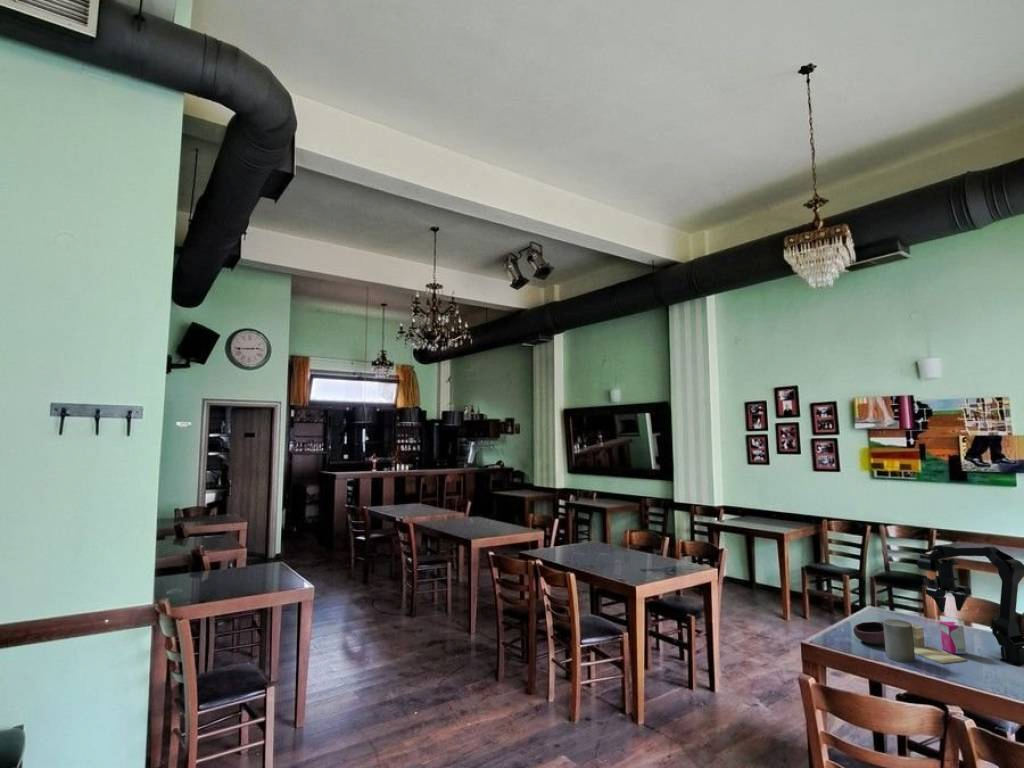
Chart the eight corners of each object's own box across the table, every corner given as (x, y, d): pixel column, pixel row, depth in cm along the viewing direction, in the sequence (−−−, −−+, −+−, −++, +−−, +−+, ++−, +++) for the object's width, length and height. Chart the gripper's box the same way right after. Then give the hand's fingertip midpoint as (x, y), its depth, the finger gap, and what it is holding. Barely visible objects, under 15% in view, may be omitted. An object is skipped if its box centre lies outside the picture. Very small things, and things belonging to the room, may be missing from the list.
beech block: (924, 646, 231) (923, 627, 232) (918, 648, 230) (917, 628, 230) (914, 643, 235) (913, 624, 236) (908, 644, 233) (907, 625, 234)
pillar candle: (913, 656, 221) (910, 617, 223) (916, 664, 212) (913, 624, 214) (884, 652, 226) (881, 614, 227) (886, 660, 217) (883, 620, 219)
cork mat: (967, 660, 216) (967, 659, 216) (941, 664, 213) (941, 663, 213) (929, 647, 231) (929, 646, 231) (905, 650, 227) (905, 649, 227)
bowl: (888, 651, 226) (886, 630, 227) (852, 643, 235) (850, 624, 235) (892, 640, 239) (890, 621, 240) (857, 633, 247) (856, 615, 248)
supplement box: (956, 649, 228) (954, 621, 229) (967, 655, 222) (964, 625, 223) (941, 649, 228) (939, 620, 229) (951, 654, 222) (949, 625, 223)
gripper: (944, 569, 249) (948, 605, 247) (911, 572, 244) (915, 608, 242) (969, 574, 238) (974, 611, 236) (936, 577, 234) (940, 615, 232)
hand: (950, 611), depth 237 cm, fingers open, 9 cm apart
